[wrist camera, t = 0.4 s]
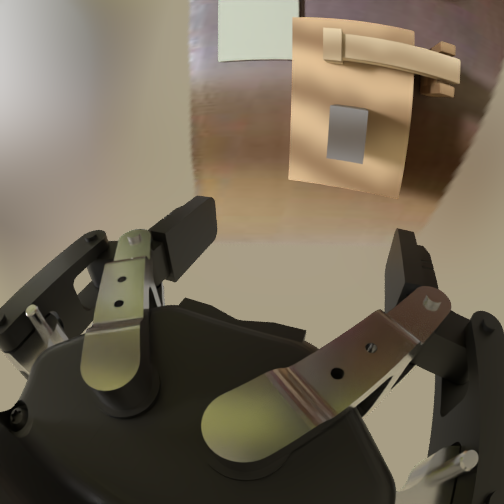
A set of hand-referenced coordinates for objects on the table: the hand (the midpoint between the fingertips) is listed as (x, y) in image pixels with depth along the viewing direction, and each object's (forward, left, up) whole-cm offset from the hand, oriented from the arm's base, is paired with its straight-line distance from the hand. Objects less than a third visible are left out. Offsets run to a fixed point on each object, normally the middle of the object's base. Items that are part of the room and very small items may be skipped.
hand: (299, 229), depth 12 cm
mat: (-18, -12, -26) cm, 34 cm away
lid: (-5, +1, -19) cm, 20 cm away
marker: (-11, +5, -18) cm, 21 cm away
